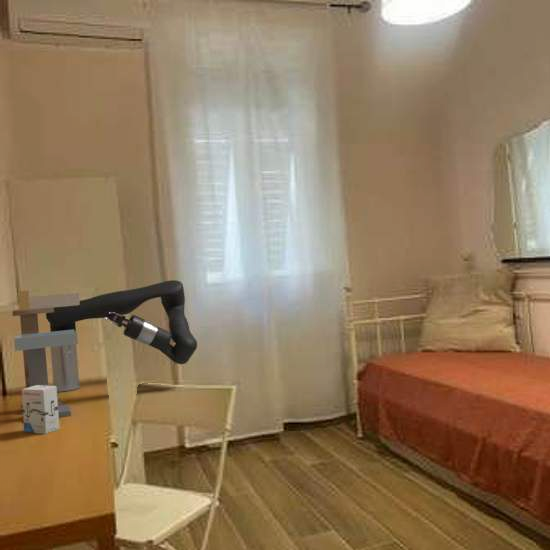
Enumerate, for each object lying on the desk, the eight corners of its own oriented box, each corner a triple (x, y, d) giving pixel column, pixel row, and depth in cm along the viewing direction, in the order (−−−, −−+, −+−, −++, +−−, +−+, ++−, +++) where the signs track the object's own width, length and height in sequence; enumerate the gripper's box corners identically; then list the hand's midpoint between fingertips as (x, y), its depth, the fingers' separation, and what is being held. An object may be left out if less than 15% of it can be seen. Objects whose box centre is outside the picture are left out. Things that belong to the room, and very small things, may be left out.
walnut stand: (21, 409, 191) (13, 310, 191) (61, 403, 195) (53, 307, 195) (20, 414, 182) (12, 311, 183) (62, 408, 187) (53, 307, 187)
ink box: (23, 432, 158) (19, 388, 158) (38, 427, 162) (35, 385, 162) (45, 434, 154) (42, 389, 154) (60, 429, 158) (57, 385, 158)
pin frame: (22, 415, 181) (16, 335, 182) (80, 406, 188) (74, 329, 188) (21, 424, 168) (14, 338, 168) (83, 414, 174) (76, 332, 174)
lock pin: (20, 310, 190) (18, 291, 190) (78, 304, 197) (77, 286, 197) (19, 310, 185) (18, 291, 185) (79, 305, 192) (78, 286, 192)
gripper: (139, 341, 193) (92, 321, 188) (132, 339, 207) (89, 319, 201) (149, 320, 195) (103, 299, 190) (142, 319, 208) (99, 299, 203)
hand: (96, 310), depth 196 cm, fingers open, 8 cm apart
